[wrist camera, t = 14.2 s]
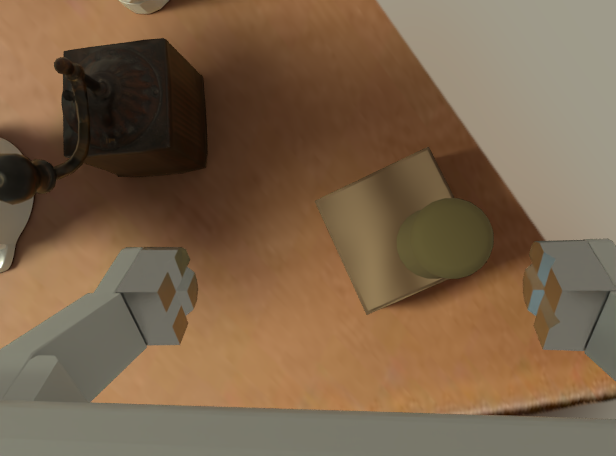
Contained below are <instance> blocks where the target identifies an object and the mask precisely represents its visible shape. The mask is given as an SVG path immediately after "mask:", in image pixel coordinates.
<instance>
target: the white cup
mask: <svg viewBox="0 0 616 456" xmlns="http://www.w3.org/2000/svg"><path fill="white" fill-rule="evenodd" d="M118 1H120V2H121V3H122V4H123V5H124V6H125V7H127V8H128V9H130V10H131V11H133V12H135V13H137V14H150V13H153V12H155V11H157V10H160V9H161V8H162V7H163V6H164V5H165V4H166V3H167V2H168V1H169V0H118Z"/></svg>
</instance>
